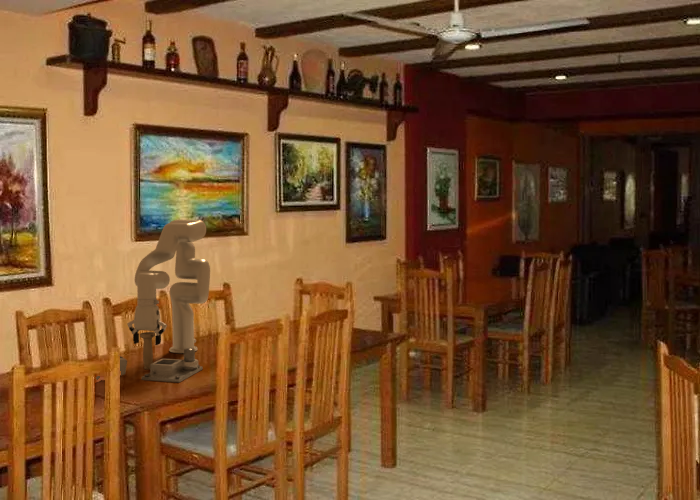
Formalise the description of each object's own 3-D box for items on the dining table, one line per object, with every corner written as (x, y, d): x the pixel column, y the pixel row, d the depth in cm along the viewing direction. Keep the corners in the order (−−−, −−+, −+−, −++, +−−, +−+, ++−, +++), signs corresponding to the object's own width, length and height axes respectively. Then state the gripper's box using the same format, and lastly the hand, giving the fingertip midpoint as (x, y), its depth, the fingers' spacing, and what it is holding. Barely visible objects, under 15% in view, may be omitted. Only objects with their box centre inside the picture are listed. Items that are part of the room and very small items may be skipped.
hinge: (116, 372, 320) (122, 350, 318) (124, 377, 318) (130, 355, 316) (84, 381, 306) (90, 358, 303) (93, 387, 304) (99, 364, 301)
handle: (138, 369, 325) (137, 333, 324) (150, 366, 331) (149, 331, 329) (146, 371, 323) (145, 335, 321) (158, 368, 328) (157, 332, 327)
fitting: (167, 367, 330) (166, 345, 329) (202, 369, 326) (202, 347, 326) (141, 379, 309) (141, 356, 308) (179, 382, 305) (179, 359, 304)
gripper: (170, 302, 326) (170, 343, 327) (132, 300, 330) (132, 341, 331) (162, 304, 318) (162, 346, 319) (123, 303, 322) (123, 344, 323)
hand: (147, 343), depth 325 cm, fingers open, 9 cm apart
